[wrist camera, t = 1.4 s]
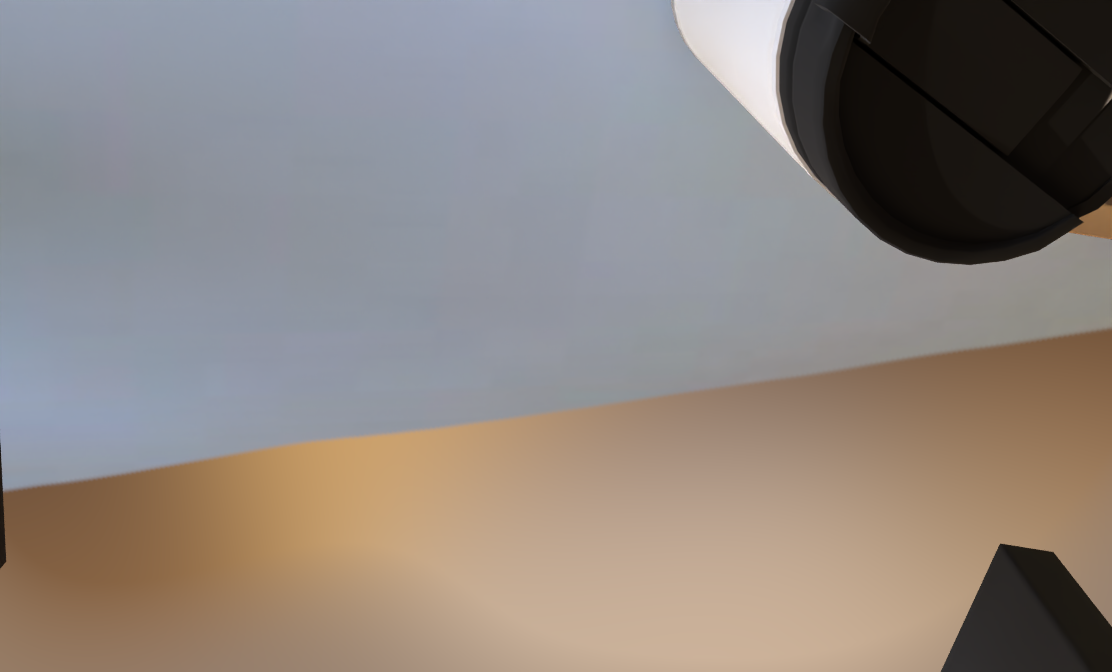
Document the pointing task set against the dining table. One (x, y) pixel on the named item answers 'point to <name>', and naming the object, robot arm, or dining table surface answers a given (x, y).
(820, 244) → the dining table surface
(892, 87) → the travel mug
